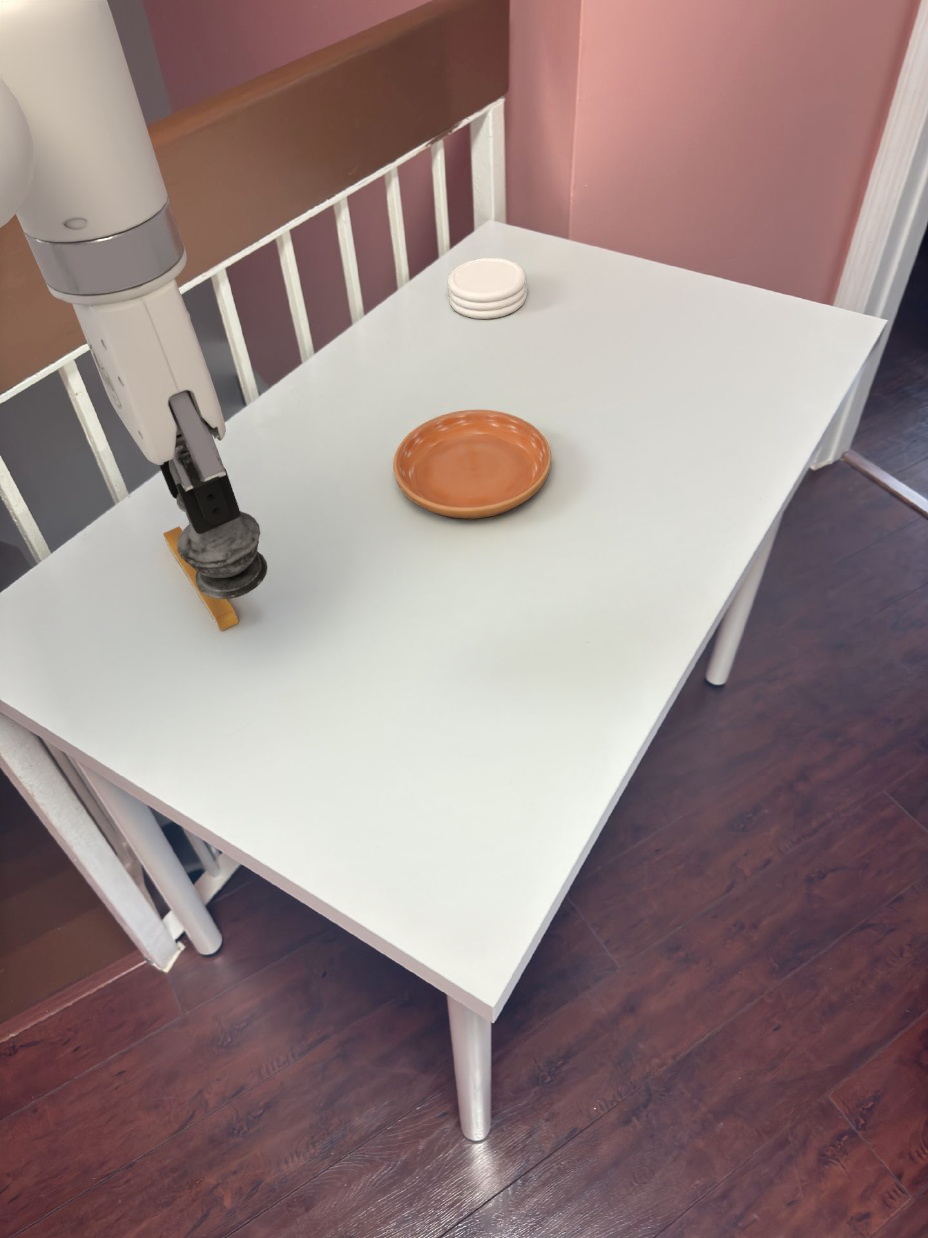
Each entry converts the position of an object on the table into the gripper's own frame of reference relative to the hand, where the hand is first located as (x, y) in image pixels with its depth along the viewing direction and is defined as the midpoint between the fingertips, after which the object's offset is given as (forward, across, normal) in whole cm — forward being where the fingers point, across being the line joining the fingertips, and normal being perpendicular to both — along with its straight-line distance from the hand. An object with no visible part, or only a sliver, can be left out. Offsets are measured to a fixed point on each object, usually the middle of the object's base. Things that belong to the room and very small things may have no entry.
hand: (205, 504), depth 62 cm
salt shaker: (+7, 0, 0) cm, 7 cm away
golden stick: (+21, -16, 0) cm, 26 cm away
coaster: (+21, -42, +49) cm, 68 cm away
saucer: (+21, -13, +29) cm, 38 cm away
